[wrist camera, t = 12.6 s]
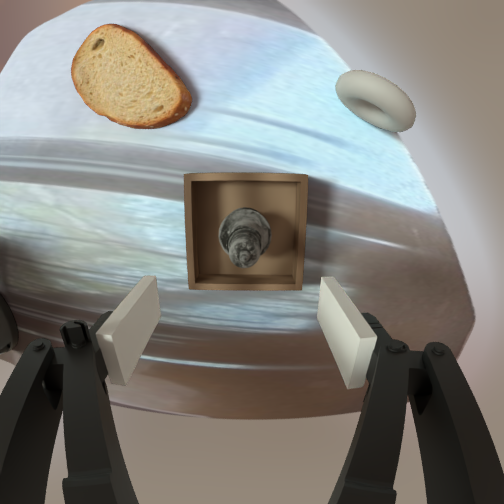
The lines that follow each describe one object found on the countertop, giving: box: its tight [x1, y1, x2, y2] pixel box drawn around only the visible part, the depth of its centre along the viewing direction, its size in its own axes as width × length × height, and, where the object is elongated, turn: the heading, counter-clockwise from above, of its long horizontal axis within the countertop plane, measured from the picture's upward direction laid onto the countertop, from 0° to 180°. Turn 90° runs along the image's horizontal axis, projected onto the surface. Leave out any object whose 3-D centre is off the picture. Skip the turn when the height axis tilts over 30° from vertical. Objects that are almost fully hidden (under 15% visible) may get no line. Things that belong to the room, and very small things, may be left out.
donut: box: [336, 70, 416, 132], centre depth 27 cm, size 10×4×10 cm, turn 63°
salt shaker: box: [219, 207, 272, 268], centre depth 30 cm, size 6×6×12 cm
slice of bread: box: [71, 24, 192, 129], centre depth 28 cm, size 18×18×4 cm
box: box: [184, 173, 308, 290], centre depth 34 cm, size 14×14×4 cm
